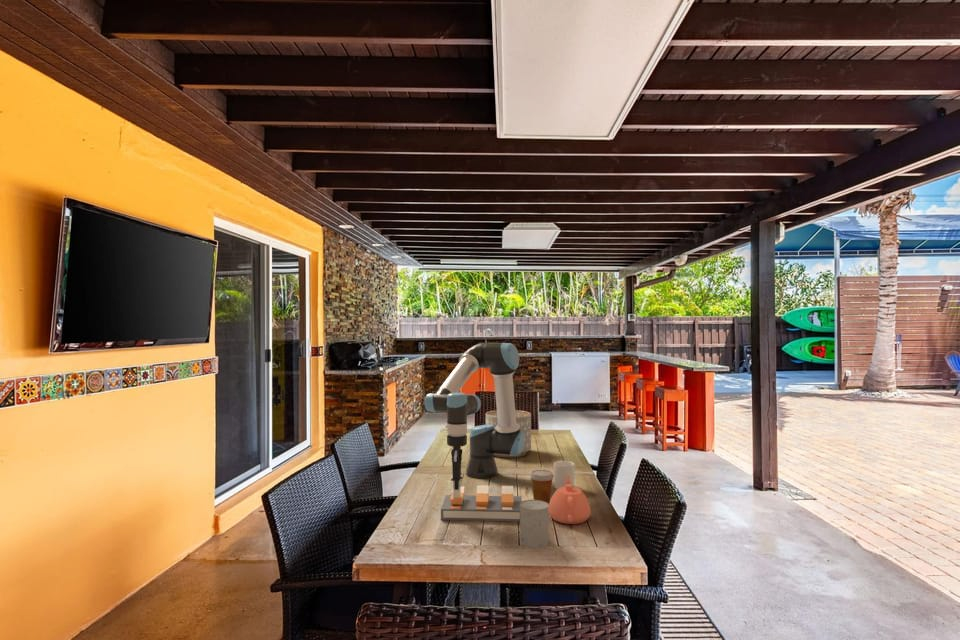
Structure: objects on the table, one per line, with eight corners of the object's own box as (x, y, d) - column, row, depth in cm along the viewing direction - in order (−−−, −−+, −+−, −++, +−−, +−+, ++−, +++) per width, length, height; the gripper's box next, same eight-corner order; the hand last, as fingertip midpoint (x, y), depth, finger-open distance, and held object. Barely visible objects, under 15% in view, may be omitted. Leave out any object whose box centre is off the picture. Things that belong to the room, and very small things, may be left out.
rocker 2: (477, 489, 205) (477, 485, 205) (488, 490, 205) (488, 485, 204) (475, 506, 196) (475, 501, 195) (487, 506, 195) (487, 501, 195)
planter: (532, 458, 281) (532, 417, 281) (485, 458, 281) (485, 417, 282) (529, 447, 307) (529, 409, 307) (485, 447, 307) (485, 409, 307)
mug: (574, 492, 224) (574, 466, 225) (553, 491, 226) (553, 465, 226) (575, 484, 236) (575, 459, 236) (555, 483, 238) (555, 458, 238)
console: (445, 505, 209) (445, 491, 209) (521, 506, 207) (521, 493, 207) (440, 520, 192) (440, 505, 192) (522, 521, 191) (522, 507, 191)
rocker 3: (501, 490, 205) (501, 485, 204) (513, 490, 204) (513, 486, 204) (501, 506, 195) (501, 502, 194) (513, 506, 195) (513, 502, 194)
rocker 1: (453, 491, 206) (453, 486, 205) (464, 491, 205) (464, 486, 205) (450, 504, 196) (450, 499, 195) (462, 504, 196) (462, 499, 195)
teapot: (547, 506, 207) (547, 475, 207) (588, 508, 205) (588, 476, 205) (548, 528, 185) (548, 492, 185) (593, 530, 183) (593, 494, 184)
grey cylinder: (517, 536, 178) (517, 500, 178) (545, 535, 179) (545, 499, 179) (522, 548, 168) (522, 509, 168) (551, 547, 169) (551, 509, 169)
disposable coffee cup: (555, 499, 215) (555, 470, 215) (550, 507, 206) (550, 476, 206) (532, 497, 218) (532, 468, 218) (527, 504, 209) (527, 474, 209)
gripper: (448, 430, 204) (448, 491, 204) (444, 437, 191) (444, 502, 191) (468, 431, 203) (468, 492, 203) (465, 438, 190) (465, 503, 190)
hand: (456, 497), depth 197 cm, fingers closed
